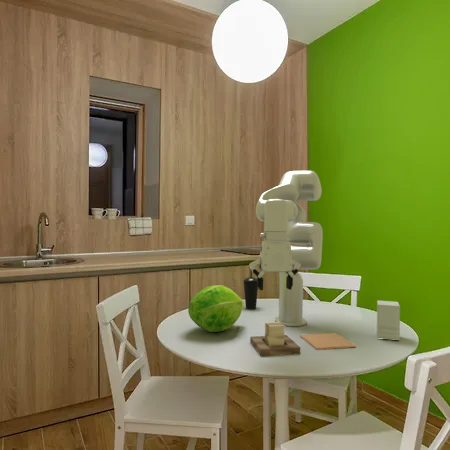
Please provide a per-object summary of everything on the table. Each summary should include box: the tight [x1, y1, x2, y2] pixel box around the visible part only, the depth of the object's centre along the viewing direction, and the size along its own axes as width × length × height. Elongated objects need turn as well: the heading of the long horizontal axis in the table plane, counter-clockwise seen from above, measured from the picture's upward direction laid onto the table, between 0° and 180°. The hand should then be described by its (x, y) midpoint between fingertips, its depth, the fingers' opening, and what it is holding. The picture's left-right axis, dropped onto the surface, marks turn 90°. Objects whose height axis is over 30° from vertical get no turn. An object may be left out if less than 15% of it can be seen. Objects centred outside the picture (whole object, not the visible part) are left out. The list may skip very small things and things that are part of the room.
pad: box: [299, 332, 357, 351], centre depth 134 cm, size 14×14×1 cm
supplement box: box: [376, 300, 401, 341], centre depth 139 cm, size 7×7×13 cm
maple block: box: [264, 321, 285, 346], centre depth 127 cm, size 5×5×8 cm
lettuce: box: [187, 284, 246, 333], centre depth 146 cm, size 19×25×17 cm
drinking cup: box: [242, 268, 259, 310], centre depth 181 cm, size 8×8×20 cm
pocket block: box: [249, 334, 301, 357], centre depth 127 cm, size 13×13×2 cm
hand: (274, 289), depth 127 cm, fingers open, 9 cm apart
